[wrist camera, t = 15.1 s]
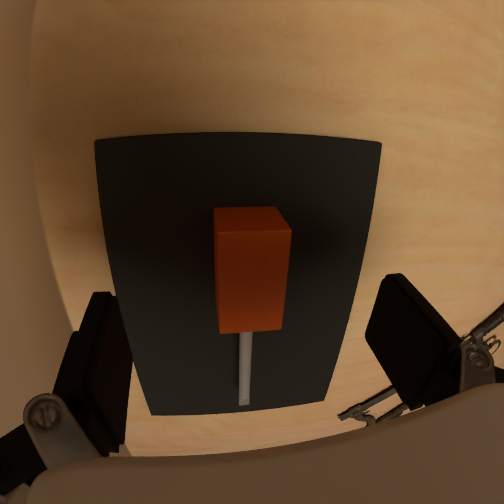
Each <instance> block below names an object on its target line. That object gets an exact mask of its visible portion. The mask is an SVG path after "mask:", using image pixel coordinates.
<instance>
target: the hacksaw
mask: <svg viewBox="0 0 504 504" xmlns="http://www.w3.org/2000/svg"><path fill="white" fill-rule="evenodd" d="M502 322H504V306H503V307H502V308H501V310H500V311H498V312H497V313H496V314H495V315H493V316H492V317H491V318H490V319H488V320H487V321H486V322H485V323H484V324H483V325H481V326H480V327H479V328H478V329H476V330H475V331H474V332H472V334H471V335H472V337H471V338H470V339H468V340H466V341H465V342H463V343H462V344H461V345H460V346H459V347H460V348H461V349H463V347H464V346H465V345H467V344H469V343H471V342H472V341H475V344H478V345H480V346H482V347H484V348H485V349H487V350H488V351H489V350H490V349H491V348H492V346H493V345H494V344H496V343H499V345H498V347H497V349H498V348H499V346H500V344H501V341H500V340H496V341H494V342H492V343H489V345H488V344H487V343H485V344H484V343H483V336H485V335H486V334H487V333H489V332H490V331H492V330H493V329H494V328H496V327H497V326H498V325H500V324H501V323H502ZM497 349H496V350H497ZM496 350H495V351H496ZM495 351H494V352H495ZM494 352H493V353H494ZM493 353H492V354H493ZM492 354H491V355H492ZM395 393H397V392H396V390H395V388H393V389H391V390H389V391H388V392H386V393H384V394H382V395H381V396H379V397H377V398H375V399H373V400H371V401H369V402H367V403H365V404H364V405H362V406H360V405H358V406H356V407H353V408H351V409H349V412H348V413H346V414H344V415H341V416H339V417H338V418H339V419H340V420H341V421H343V420H345V419H347V418H349V417H351V418H355V420H358V421H364V422H367V425H368V426H370V425H374V424H377V423H380V422H383V421H387V420H390V419H393V418H396V417H399V416H400V415H401V414H402V413H403V411H404V410H406V409H408V408H409V407H408V406H407V405H406V404H403V405H401V406H399V407H398V408H396V409H394V410H393V411H392V412H390V413H388V414H386V415H385V416H383V417H381V418H379V419H378V420H375V418H374V417H372V416H367V415H364V414H365V413H368V412H369V411H370V410H369V411H367V412H363V410H365V409H367V408H369V407H371V406H373V405H375V404H377V403H379V402H381V401H382V400H384V399H386V398H388V397H390V396H391V395H393V394H395Z"/></svg>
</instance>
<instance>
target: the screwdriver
mask: <svg viewBox="0 0 504 504" xmlns="http://www.w3.org/2000/svg"><path fill="white" fill-rule="evenodd" d="M291 234H292V230H291V229H290V227H289V226H288V224H287V223H286V221H285V220H284V218H283V217H282V215H281V214H280V212H279V211H278V209H277V208H276V207H275V206H266V207H218V208H214V262H215V296H216V307H217V316H218V325H219V332H220V334H227V333H239V405H249V398H250V396H249V395H250V375H251V354H252V334H253V332H256V331H268V330H279V329H281V328H282V320H283V311H284V302H285V293H286V284H287V274H288V265H289V255H290V244H291Z"/></svg>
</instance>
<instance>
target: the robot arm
mask: <svg viewBox="0 0 504 504" xmlns="http://www.w3.org/2000/svg"><path fill="white" fill-rule="evenodd" d="M365 339H366V341H367V343H368V345H369V346H370V348H371V350H372V351H373V353H374V355H375V356H376V358H377V360H378V361H379V363H380V365H381V366H382V368H383V370H384V371H385V373H386V375H387V376H388V378H389V380H390V381H391V383H392V385H393V386H394V388H395V390H396V392H397V393H398V395H399V397H400V399H401V400H402V402H403V403H404V404H406V405H407V406H408V407H409V409H410V411H412V410H415V409H418V408H420V407H422V406H423V404H424V405H425V407H424V408H421V409H418V410H416V411H413V412H410V413H407V414H405V415H402V416H399V417H396V418H393V419H390V420H387V421H383V422H380V423H377V424H374V425H370V426H367V427H363V428H360V429H356V430H352V431H349V432H345V433H341V434H337V435H333V436H328V437H324V438H320V439H315V440H310V441H305V442H300V443H295V444H289V445H283V446H277V447H271V448H264V449H257V450H250V451H241V452H232V453H221V454H207V455H190V456H159V457H144V456H139V457H109V452H114V453H119V444H124V442H125V430H126V419H127V408H128V398H129V389H130V381H131V373H132V365H133V356H132V351H131V348H130V344H129V341H128V337H127V334H126V330H125V327H124V323H123V319H122V315H121V311H120V307H119V303H118V299H117V297H116V296H112V294H111V292H93V294H92V296H91V299H90V301H89V304H88V307H87V309H86V312H85V314H84V317H83V320H82V323H81V325H80V328H79V331H74V332H73V333H72V335H71V337H70V340H69V343H68V346H67V348H66V352H65V355H64V358H63V360H62V363H61V366H60V369H59V373H58V376H57V379H56V382H55V386H54V389H53V392H52V394H50V393H44V394H40V395H37V396H35V397H34V398H32V399H31V400H30V401H29V402H28V403H27V404H26V406H25V408H24V411H23V421H24V423H23V424H22V425H20V426H19V427H17V428H15V429H14V430H12V431H11V432H9V433H8V434H6V435H5V436H3V437H1V438H0V504H504V369H501V368H498V367H495V366H494V360H493V357H492V355H491V354H490V352H489V351H488V350H487V349H485V348H484V347H482V346H480V345H478V344H467V345H465V346H464V347H463V349H461V348H460V347H459V346H460V345H461V343H462V340H461V338H460V337H459V336H458V335H457V334H456V332H455V331H454V330H453V329H452V328H451V327H450V325H449V324H448V323H447V322H446V321H445V320H444V319H443V317H442V316H441V315H440V314H439V313H438V312H437V311H436V310H435V308H434V307H433V306H432V305H431V304H430V303H429V302H428V301H427V300H426V299H425V298H424V296H423V295H422V294H421V293H420V292H419V291H418V290H417V289H416V288H415V287H414V286H413V285H412V284H411V283H410V281H409V280H408V279H407V278H406V277H405V276H404V275H403V274H401V273H396V274H388V275H386V276H385V278H384V279H383V280H382V281H381V284H380V287H379V291H378V294H377V298H376V301H375V304H374V307H373V310H372V314H371V317H370V320H369V323H368V326H367V329H366V332H365Z"/></svg>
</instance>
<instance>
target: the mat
mask: <svg viewBox="0 0 504 504" xmlns="http://www.w3.org/2000/svg"><path fill="white" fill-rule="evenodd" d="M381 147H382V143H380V142H374V141H366V140H358V139H349V138H339V137H328V136H316V135H302V134H284V133H257V132H200V133H173V134H155V135H141V136H129V137H119V138H109V139H100V140H95V141H94V148H95V162H96V173H97V183H98V192H99V201H100V208H101V216H102V223H103V229H104V236H105V242H106V248H107V253H108V259H109V264H110V269H111V274H112V279H113V284H114V288H115V293H116V297H117V299H118V303H119V307H120V311H121V315H122V319H123V323H124V327H125V330H126V334H127V337H128V341H129V344H130V348H131V351H132V356H133V362H134V365H135V368H136V372H137V375H138V378H139V381H140V384H141V387H142V390H143V393H144V396H145V399H146V402H147V404H148V407H149V410H150V413H151V415H160V416H167V415H205V414H222V413H235V412H246V411H256V410H265V409H273V408H281V407H288V406H295V405H301V404H308V403H313V402H319V401H324V399H325V396H326V393H327V390H328V387H329V384H330V381H331V378H332V375H333V372H334V368H335V365H336V362H337V359H338V355H339V352H340V348H341V345H342V342H343V338H344V334H345V331H346V327H347V324H348V320H349V316H350V312H351V308H352V304H353V300H354V296H355V292H356V288H357V284H358V279H359V275H360V271H361V266H362V262H363V257H364V252H365V247H366V242H367V237H368V232H369V227H370V221H371V215H372V210H373V204H374V198H375V191H376V185H377V178H378V171H379V163H380V156H381ZM266 206H275V207H276V208H277V209H278V211H279V212H280V214H281V215H282V217H283V218H284V220H285V221H286V223H287V224H288V226H289V227H290V229H291V230H292V234H291V244H290V255H289V265H288V274H287V284H286V293H285V302H284V311H283V320H282V328H281V329H279V330H268V331H256V332H253V334H252V354H251V375H250V395H249V396H250V398H249V405H239V333H227V334H220V332H219V325H218V316H217V307H216V296H215V262H214V208H218V207H266Z"/></svg>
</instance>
